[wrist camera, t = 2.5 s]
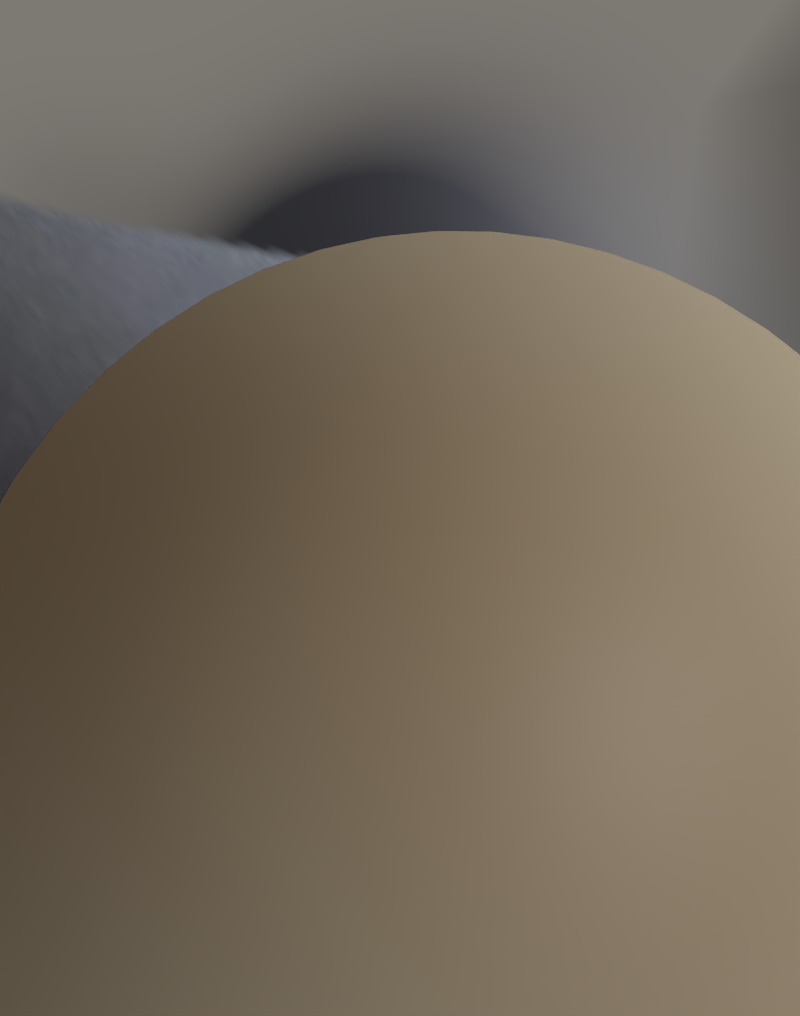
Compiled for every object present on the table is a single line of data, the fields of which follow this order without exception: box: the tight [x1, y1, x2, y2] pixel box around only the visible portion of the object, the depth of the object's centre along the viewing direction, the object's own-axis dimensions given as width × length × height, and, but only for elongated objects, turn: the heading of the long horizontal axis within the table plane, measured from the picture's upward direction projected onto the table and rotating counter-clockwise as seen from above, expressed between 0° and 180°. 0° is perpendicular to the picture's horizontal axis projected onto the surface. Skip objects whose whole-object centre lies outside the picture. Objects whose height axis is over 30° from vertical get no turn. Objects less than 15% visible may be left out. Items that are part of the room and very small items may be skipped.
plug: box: [0, 231, 800, 1016], centre depth 9 cm, size 4×4×14 cm
